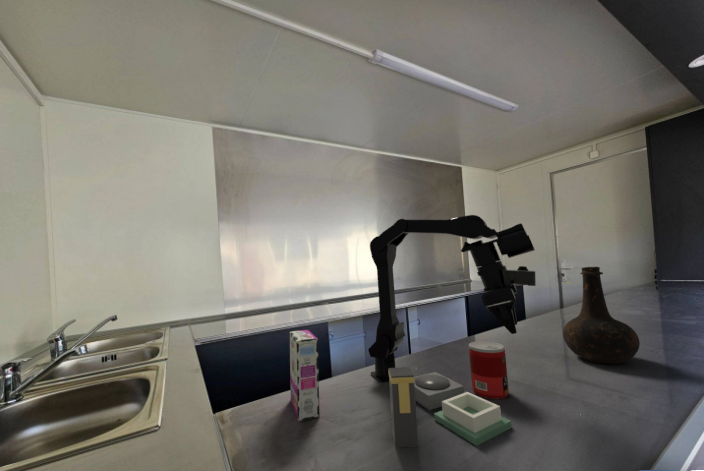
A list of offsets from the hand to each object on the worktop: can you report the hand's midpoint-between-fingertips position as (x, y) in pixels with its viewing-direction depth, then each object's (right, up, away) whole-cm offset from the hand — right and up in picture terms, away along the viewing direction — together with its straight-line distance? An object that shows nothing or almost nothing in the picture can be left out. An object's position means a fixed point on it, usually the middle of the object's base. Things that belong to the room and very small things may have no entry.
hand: (514, 328), depth 66 cm
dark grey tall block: (-28, -16, -14) cm, 35 cm away
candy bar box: (-48, -18, -1) cm, 52 cm away
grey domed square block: (-18, -17, +2) cm, 25 cm away
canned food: (-4, -16, +3) cm, 17 cm away
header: (-14, -15, -10) cm, 23 cm away
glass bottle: (+38, -16, +21) cm, 46 cm away
